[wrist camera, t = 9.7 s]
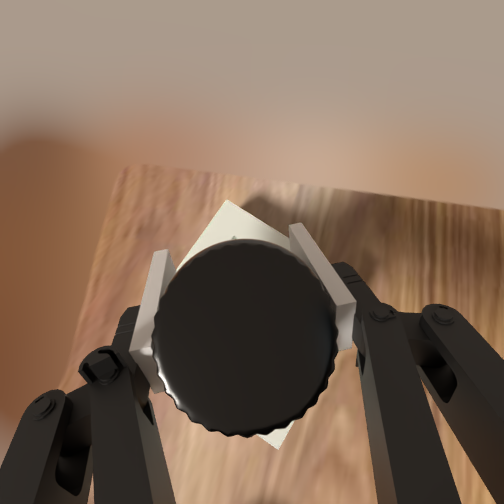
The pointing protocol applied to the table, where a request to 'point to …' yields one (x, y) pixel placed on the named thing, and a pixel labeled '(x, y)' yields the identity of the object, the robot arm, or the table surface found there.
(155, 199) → the table surface
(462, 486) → the table surface
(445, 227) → the table surface
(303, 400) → the supplement bottle
